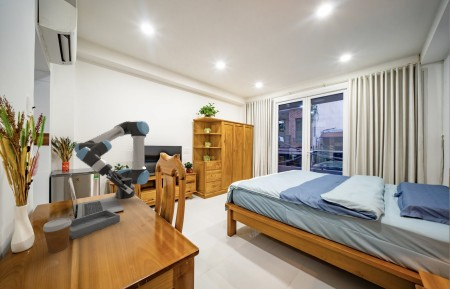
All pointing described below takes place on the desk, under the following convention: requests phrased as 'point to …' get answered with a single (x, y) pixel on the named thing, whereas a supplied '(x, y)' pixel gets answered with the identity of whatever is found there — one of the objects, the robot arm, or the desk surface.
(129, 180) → the ink bottle
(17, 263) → the desk surface
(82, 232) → the charcoal bin
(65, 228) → the disposable coffee cup
